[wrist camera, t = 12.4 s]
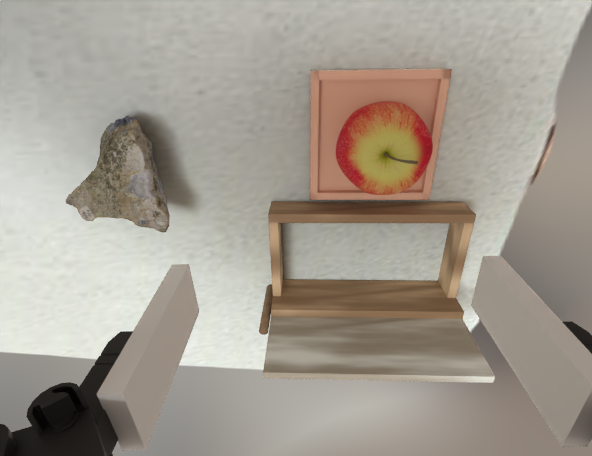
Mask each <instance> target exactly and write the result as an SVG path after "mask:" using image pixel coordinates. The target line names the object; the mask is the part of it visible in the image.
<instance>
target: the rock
mask: <svg viewBox="0 0 592 456" xmlns="http://www.w3.org/2000/svg"><path fill="white" fill-rule="evenodd" d="M66 203H67V204H69V205H73V206H75V207H76V208H77V209H78V212H79V213H80V215H81V216H82V218H83V219H85V220H87V221H93V220H94V219H95V218H97V217H111V218H124V219H128V220H130V221H133V222H134V223H135V224H136V225H138V226H141V227H148V228H154V229H156V230H158V231H160V232H166V230H167V228H168V227H169V212H168V208H167V199H166V196H165V194H164V189H163V185H162V182H161V181H160V179H159V178H158V175H157V166H156V164H155V162H154V159H153V156H152V143H151V141H150V140H149V139H148V138H147V137H146V136H145V135H144V134H143V133H142V131H141V127H140V125H139V123H138V121H137V119H136V118H134V117H131V118H130V117H128V116H126V117H125V118H123V119H118V120H116V121H115V123H111V124H110V125H109V126H108V127H107V128H106V130H105V131H104V133H103V135H102V138H101V145H100V157H99V159H98V162H97V167H96V168H95V170H94V171H92V172H91V174H90V175H89V176H88V177H87V178H86V180H84V181H83V182H82V183H81V185H80V186H78V187H77V188H76V189H75V190H74V191H73V192H72V194H69V196H68V198H67V199H66Z"/></svg>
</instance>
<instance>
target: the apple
mask: <svg viewBox="0 0 592 456" xmlns="http://www.w3.org/2000/svg"><path fill="white" fill-rule="evenodd" d="M432 151H433V142H432V137H431V134H430V132H429V130H428V128H427V126H426V124H425V123H424V121H423V120H422V119H421V117H420V116H419V115H418V114H417V113H416V112H415V111H414V110H412V109H411V108H410V107H408V106H407V105H405V104H402V103H398V102H392V101H386V102H377V103H372V104H369V105H366V106H363V107H361V108H359V109H358V110H356V111H355V112H353V113H352V114H351V115H350V116H349V118H348V119H347V120H346V122H345V124H344V125H343V127H342V129H341V131H340V134H339V137H338V140H337V144H336V159H337V162H338V165H339V167H340V169H341V170H342V172H343V173H344V175H345V176H346V177H347V178H348V179H349V180H350V181H351V182H352V183H353V184H354V185H355V186H356V187H358V188H359V189H361V190H362V191H364V192H366V193H369V194H374V195H390V194H395V193H399V192H402V191H405V190H407V189H409V188H410V187H412V186H413V185H414V184H415V183H416V182H417V181H418V180H419V178H420V177H421V176H422V174H423V173H424V171H425V169H426V167H427V165H428V163H429V161H430V158H431V155H432Z"/></svg>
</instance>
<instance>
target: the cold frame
mask: <svg viewBox="0 0 592 456" xmlns="http://www.w3.org/2000/svg"><path fill="white" fill-rule="evenodd" d="M268 215H269V234H270V252H271V270H272V285H268V286H267V290H266V295H265V301H264V306H263V312H262V317H261V323H260V329H259V332H260V333H261V334H267V333H268V328H269V321H270V314H271V322H270V329H269V336H268V343H267V350H266V357H265V364H264V371H263V376H264V378H281V379H334V380H383V381H384V380H385V381H436V382H486V383H493V381H494V378H495V376H494V374H493V373H492V371H491V369H490V367H489V365H488V363H487V362H486V360H485V358H484V356H483V355H482V353H481V351H480V349H479V348H478V346H477V344H476V342H475V341H474V339H473V337H472V335H471V333H470V332H469V330H468V328H467V326H466V325H465V323H464V321H463V319H462V318H463V314H464V311H463V309H462V308H461V306H460V304H459V303H458V301H457V299H456V296H457V291H458V287H459V283H460V279H461V275H462V271H463V267H464V262H465V258H466V254H467V250H468V246H469V242H470V237H471V233H472V229H473V225H474V221H475V217H476V214H475V213H474V212H473V211H472V210H471V209H470V208H469V207H468V206H467V205H466V204H465V203H464V202H271V206H270V210H269V214H268ZM281 223H450V225H449V230H448V234H447V239H446V244H445V249H444V254H443V259H442V264H441V268H440V273H439V278H438V281H393V280H283V265H282V239H281Z"/></svg>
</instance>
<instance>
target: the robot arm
mask: <svg viewBox="0 0 592 456" xmlns="http://www.w3.org/2000/svg"><path fill="white" fill-rule="evenodd" d="M471 306H472V307H473V309H474V310H475V312H476V314H477V315H478V317H479V318H480V320H481V321H482V323H483V324H484V326H485V327H486V329H487V331H488V332H489V334H490V335H491V337H492V338H493V340H494V342H495V343H496V345H497V346H498V348H499V349H500V351H501V352H502V354H503V356H504V357H505V359H506V360H507V362H508V363H509V365H510V366H511V368H512V369H513V371H514V373H515V374H516V376H517V377H518V379H519V381H520V382H521V384H522V385H523V387H524V388H525V390H526V391H527V393H528V395H529V396H530V398H531V399H532V401H533V402H534V404H535V405H536V407H537V408H538V410H539V412H540V413H541V415H542V416H543V418H544V419H545V421H546V423H547V424H548V426H549V427H550V429H551V430H552V432H553V433H554V435H555V437H556V438H557V440H558V441H559V443H560V444H561V446H562V447H582V446H583V447H584V446H585V447H586V446H588V445H589V443H590V441H591V439H592V335H591V334H590V333H589V332H587V331H586V330H584V329H583V328H581V327H580V326H578V325H576V324H575V323H573V322H561V320H560V319H559V318H558V317H557V316H556V315H555V314H554V313H553V312H552V311H551V310H550V309H549V307H548V306H547V305H546V304H545V303H544V302H543V301H542V300H541V299H540V298H539V297H538V296H537V295H536V293H535V292H534V291H533V290H532V289H531V288H530V287H529V286H528V285H527V284H526V283H525V281H524V280H523V279H522V278H521V277H520V276H519V275H518V274H517V273H516V272H515V271H514V270H513V269H512V267H511V266H510V265H509V264H508V263H507V262H506V261H505V260H504V259H503V258H502V257H501V256H483V259H482V263H481V267H480V271H479V275H478V279H477V283H476V288H475V292H474V296H473V300H472V304H471ZM198 313H199V308H198V304H197V299H196V294H195V290H194V285H193V281H192V276H191V272H190V267H189V264H185V265H172V266H171V268H170V269H169V271H168V273H167V275H166V276H165V278H164V280H163V281H162V283H161V285H160V286H159V288H158V290H157V292H156V293H155V295H154V297H153V298H152V300H151V302H150V304H149V305H148V307H147V309H146V310H145V312H144V314H143V315H142V317H141V319H140V321H139V322H138V324H137V326H136V327H135V329H134V331H132V332H120V333H118V334H117V335H116V336H115V337H114V338H113V339H112V340H110V341H109V342H108V344H107V345H106V347H105V348H104V350H103V351H102V353H101V356H99V358H98V359H97V361H96V362H95V366H93V367H92V368H91V370H90V372H89V373H88V375H87V376H86V378H85V379H84V381H83V383H82V384H81V385H80V387H78V385H77V384H74V383H61V384H58V385H55V386H53V387H51V388H49V389H48V390H46V391H44V392H42V393H41V394H40V395H39V396H38V397H37V398H36V399H35V400H34V401H33V402H32V404H31V405H30V407H29V408H28V412H27V418H28V420H29V421H30V423H31V424H32V426H31V427H28V428H25V429H21V430H18V431H15V432H10V430H9V429H8V428H7V427H6V426H5V425H3V424H0V456H113V454H112V451H113V449H114V447H115V445H116V443H117V441H118V442H119V444H120V446H121V448H122V450H123V451H131V450H132V451H134V450H146V449H147V446H148V443H149V441H150V438H151V436H152V433H153V431H154V428H155V425H156V423H157V420H158V418H159V415H160V412H161V410H162V407H163V404H164V402H165V399H166V396H167V394H168V391H169V389H170V386H171V383H172V381H173V378H174V376H175V373H176V371H177V368H178V365H179V363H180V360H181V358H182V355H183V352H184V350H185V347H186V345H187V342H188V339H189V337H190V334H191V332H192V329H193V326H194V324H195V321H196V319H197V316H198Z"/></svg>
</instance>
